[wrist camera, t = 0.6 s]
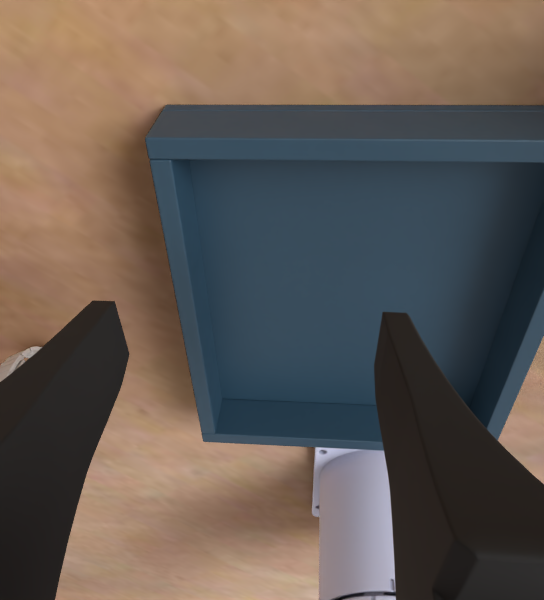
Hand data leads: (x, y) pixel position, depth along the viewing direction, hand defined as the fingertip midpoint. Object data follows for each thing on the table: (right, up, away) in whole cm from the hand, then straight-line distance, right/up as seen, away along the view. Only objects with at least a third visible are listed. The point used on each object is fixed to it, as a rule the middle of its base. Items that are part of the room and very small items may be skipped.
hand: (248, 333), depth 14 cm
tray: (+5, +1, +11) cm, 12 cm away
